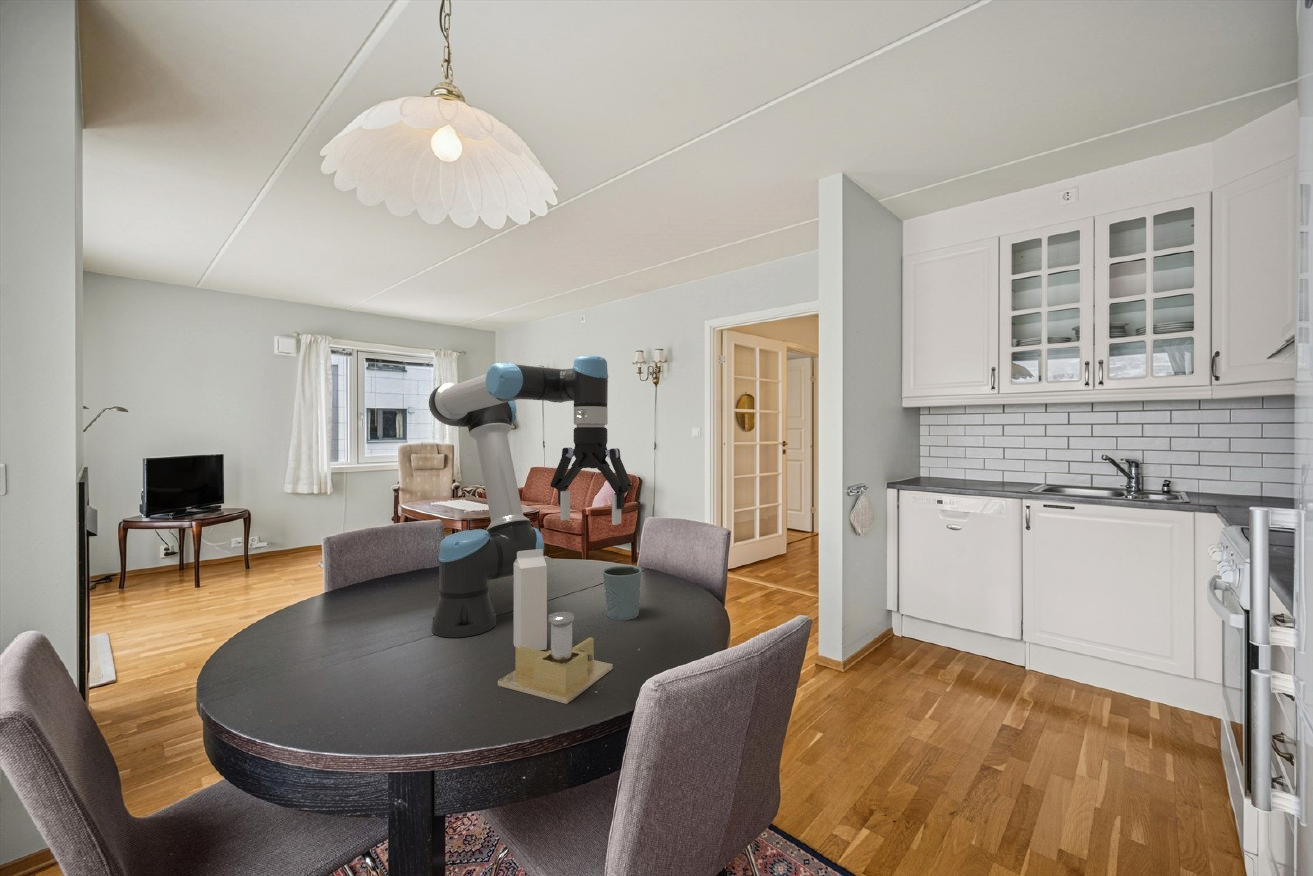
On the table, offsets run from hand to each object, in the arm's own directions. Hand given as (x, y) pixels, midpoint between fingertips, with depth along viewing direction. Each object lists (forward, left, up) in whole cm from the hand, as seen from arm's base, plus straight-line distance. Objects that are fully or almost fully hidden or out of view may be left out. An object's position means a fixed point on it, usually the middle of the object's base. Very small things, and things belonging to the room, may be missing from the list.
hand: (590, 521), depth 120 cm
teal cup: (-5, +23, -29) cm, 37 cm away
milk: (-13, -5, -29) cm, 32 cm away
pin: (+5, -18, -28) cm, 33 cm away
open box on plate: (+1, -14, -29) cm, 32 cm away
